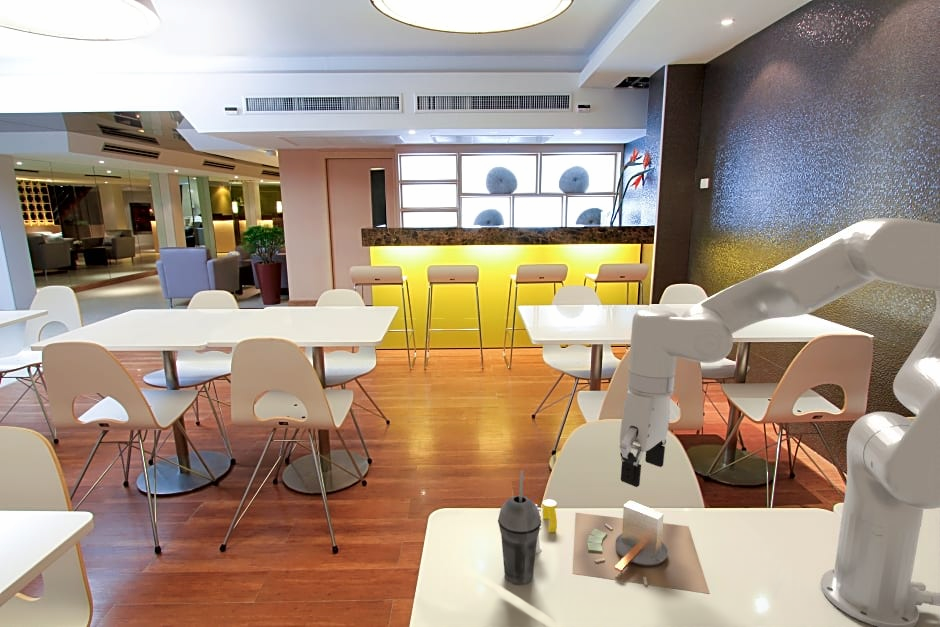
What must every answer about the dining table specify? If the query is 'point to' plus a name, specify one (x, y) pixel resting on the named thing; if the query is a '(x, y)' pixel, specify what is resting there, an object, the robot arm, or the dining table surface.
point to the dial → (640, 537)
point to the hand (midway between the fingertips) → (642, 473)
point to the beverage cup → (519, 537)
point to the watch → (550, 514)
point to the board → (601, 558)
